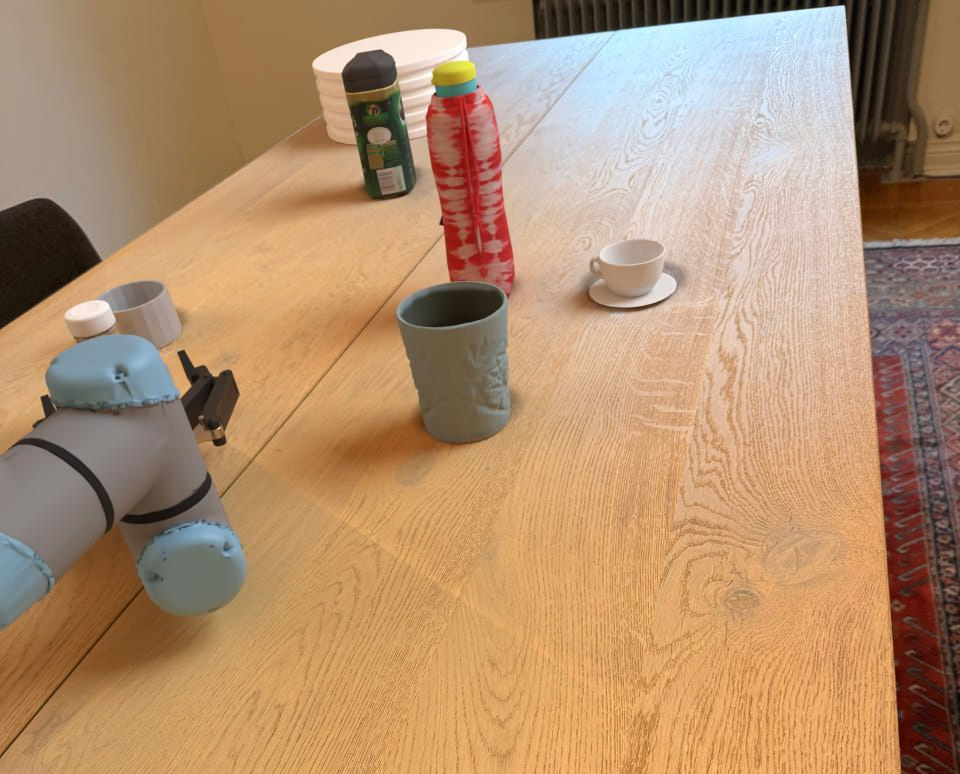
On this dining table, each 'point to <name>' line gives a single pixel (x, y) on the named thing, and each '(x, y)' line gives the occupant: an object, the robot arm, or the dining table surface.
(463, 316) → the grey embossed cup
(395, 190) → the coffee jar
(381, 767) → the dining table surface
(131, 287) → the grey faceted cup
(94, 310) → the sprinkles bottle
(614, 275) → the teacup
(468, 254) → the water bottle
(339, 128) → the plate stack
